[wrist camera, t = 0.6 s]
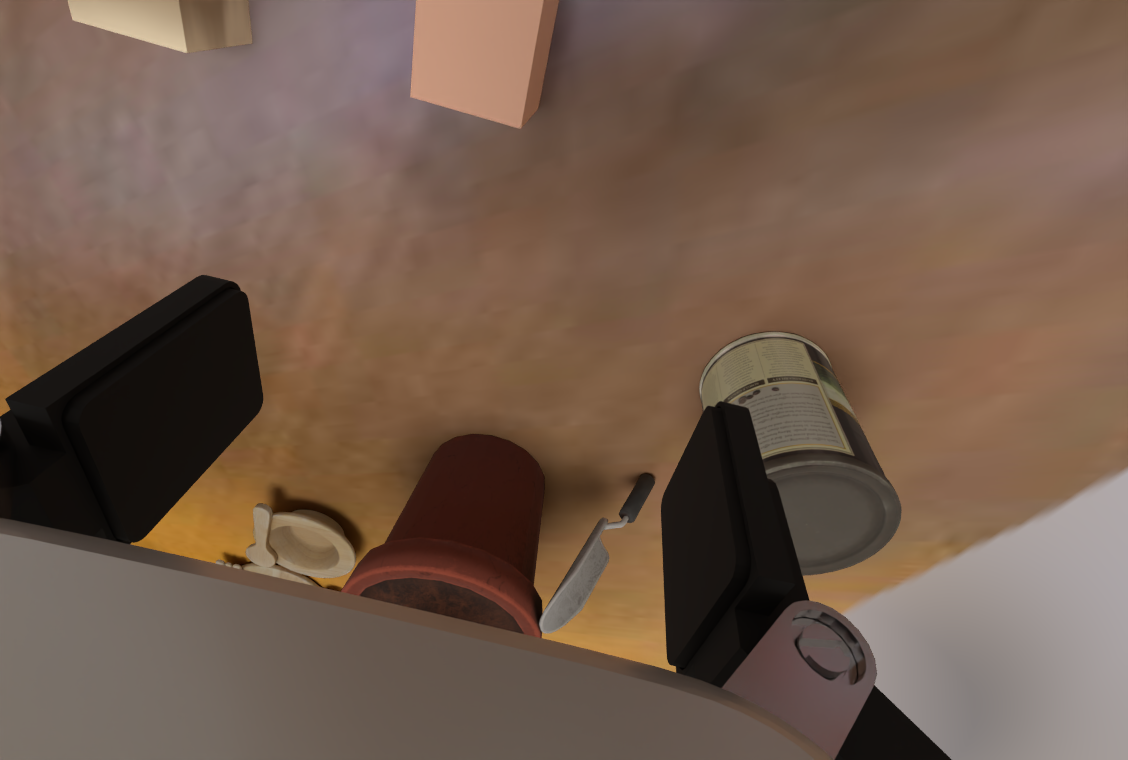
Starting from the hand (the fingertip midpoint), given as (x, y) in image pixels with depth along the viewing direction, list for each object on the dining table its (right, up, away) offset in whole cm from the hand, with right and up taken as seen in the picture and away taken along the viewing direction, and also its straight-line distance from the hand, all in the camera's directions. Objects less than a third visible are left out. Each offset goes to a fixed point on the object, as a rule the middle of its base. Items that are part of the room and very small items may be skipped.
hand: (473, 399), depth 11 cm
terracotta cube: (-2, +20, +21) cm, 29 cm away
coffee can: (+18, 0, +33) cm, 37 cm away
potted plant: (-3, -10, +43) cm, 44 cm away
